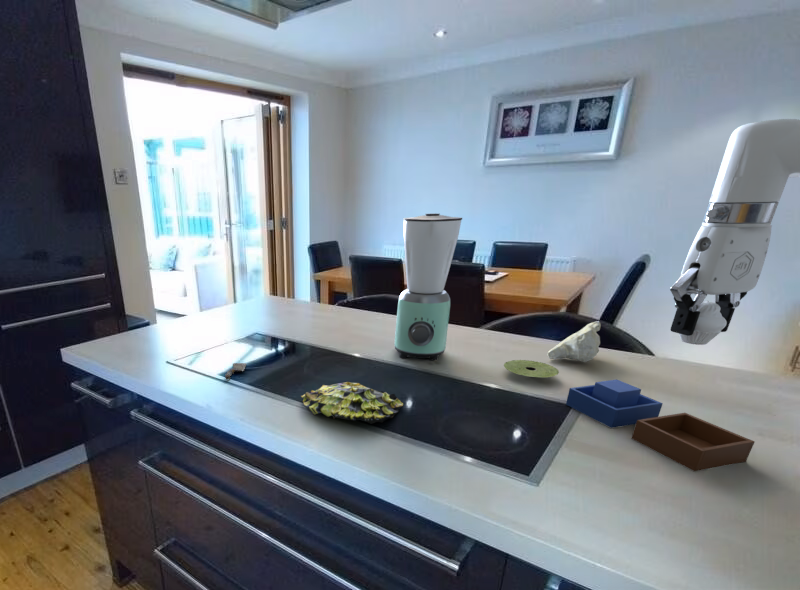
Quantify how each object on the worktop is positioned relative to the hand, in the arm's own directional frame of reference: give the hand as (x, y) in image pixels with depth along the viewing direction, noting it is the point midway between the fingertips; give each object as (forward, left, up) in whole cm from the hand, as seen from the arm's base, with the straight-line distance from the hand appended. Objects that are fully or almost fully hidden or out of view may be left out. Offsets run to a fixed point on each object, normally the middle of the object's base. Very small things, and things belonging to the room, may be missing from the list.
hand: (698, 330), depth 73 cm
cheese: (-13, -34, -18) cm, 41 cm away
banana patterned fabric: (+53, -22, -18) cm, 60 cm away
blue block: (+6, -6, -17) cm, 19 cm away
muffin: (0, 0, -2) cm, 2 cm away
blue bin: (+6, -6, -17) cm, 19 cm away
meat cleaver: (+73, -48, -17) cm, 89 cm away
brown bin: (+6, +8, -17) cm, 20 cm away
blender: (+23, -48, -18) cm, 56 cm away
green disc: (+7, -26, -18) cm, 32 cm away
